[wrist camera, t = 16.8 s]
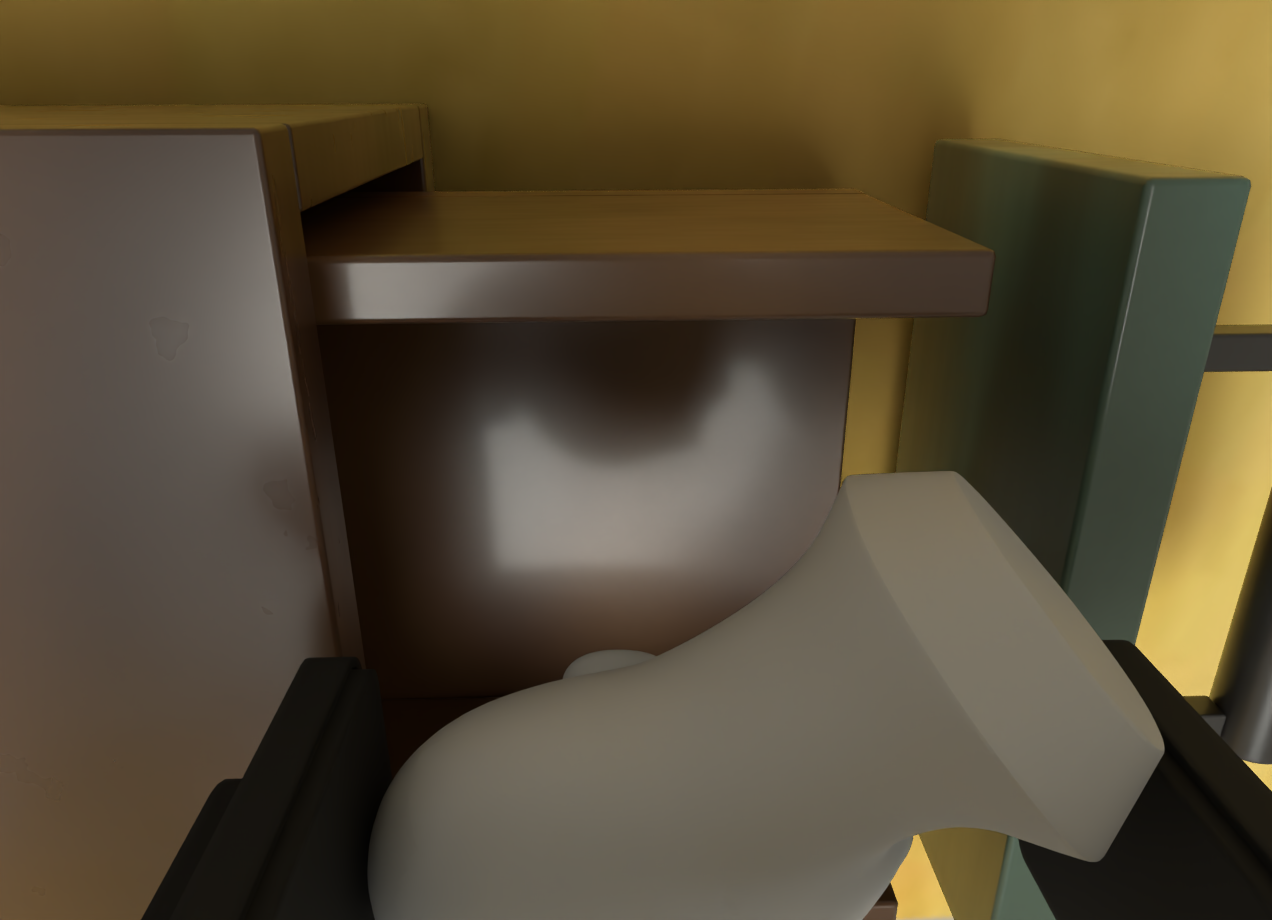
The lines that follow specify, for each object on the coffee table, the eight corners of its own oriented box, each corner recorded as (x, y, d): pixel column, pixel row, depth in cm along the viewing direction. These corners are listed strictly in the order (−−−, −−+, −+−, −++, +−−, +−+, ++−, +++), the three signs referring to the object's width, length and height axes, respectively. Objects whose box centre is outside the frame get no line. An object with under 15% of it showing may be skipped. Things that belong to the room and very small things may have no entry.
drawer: (1289, 136, 16) (1728, 173, 10) (1139, 705, 21) (1368, 972, 15) (172, 143, 16) (-122, 186, 9) (284, 725, 21) (142, 1014, 14)
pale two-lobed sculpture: (546, 837, 14) (311, 677, 11) (1043, 606, 12) (941, 339, 9) (580, 1188, 10) (254, 1108, 7) (1268, 932, 9) (1231, 691, 6)
